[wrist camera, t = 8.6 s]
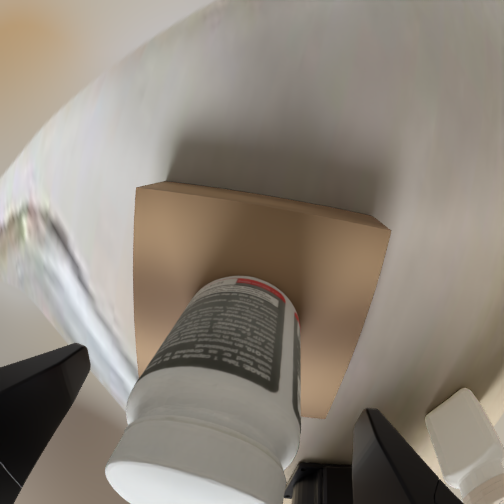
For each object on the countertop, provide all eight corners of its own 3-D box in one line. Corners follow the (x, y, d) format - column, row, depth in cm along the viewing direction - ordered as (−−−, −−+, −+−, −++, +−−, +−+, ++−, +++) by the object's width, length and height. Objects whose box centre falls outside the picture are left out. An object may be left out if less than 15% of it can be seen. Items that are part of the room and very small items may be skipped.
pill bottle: (167, 309, 13) (57, 456, 5) (253, 249, 11) (175, 427, 4) (235, 382, 14) (189, 541, 6) (322, 338, 12) (335, 527, 4)
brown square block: (322, 382, 16) (325, 418, 14) (159, 349, 17) (138, 379, 14) (372, 215, 13) (391, 230, 11) (165, 181, 14) (136, 187, 11)
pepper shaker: (420, 415, 17) (453, 524, 8) (464, 381, 15) (517, 484, 6) (440, 433, 17) (470, 526, 8) (480, 402, 16) (524, 492, 7)
